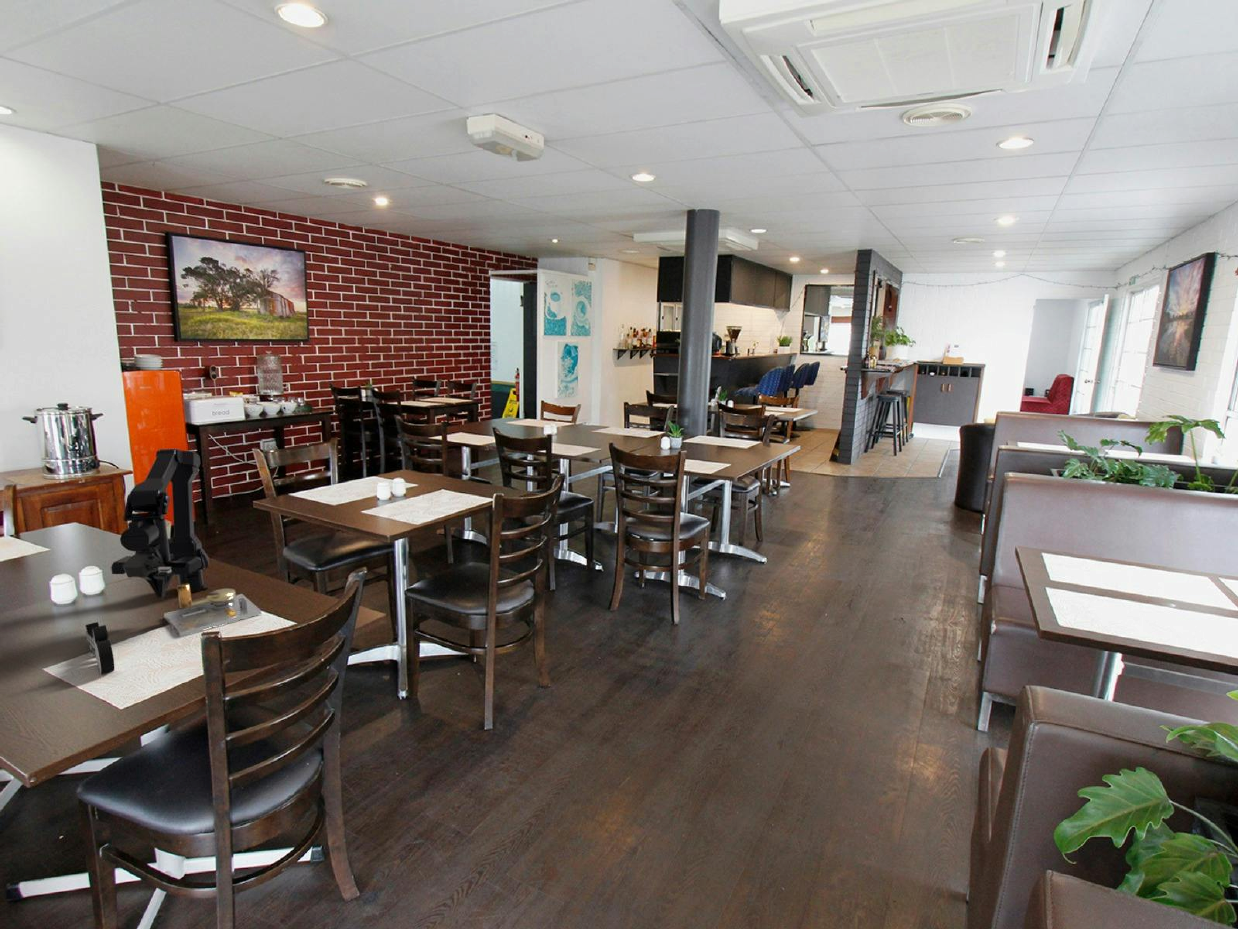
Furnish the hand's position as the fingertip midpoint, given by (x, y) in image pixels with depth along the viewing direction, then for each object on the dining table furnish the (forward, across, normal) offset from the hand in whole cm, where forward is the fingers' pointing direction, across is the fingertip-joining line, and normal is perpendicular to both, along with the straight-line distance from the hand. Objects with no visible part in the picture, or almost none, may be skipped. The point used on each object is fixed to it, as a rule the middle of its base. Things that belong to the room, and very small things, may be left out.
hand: (161, 597), depth 161 cm
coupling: (+3, +9, +5) cm, 10 cm away
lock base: (+6, +11, +3) cm, 13 cm away
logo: (+7, -1, -19) cm, 20 cm away
